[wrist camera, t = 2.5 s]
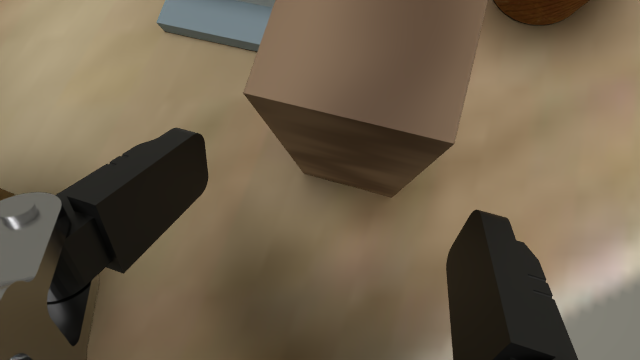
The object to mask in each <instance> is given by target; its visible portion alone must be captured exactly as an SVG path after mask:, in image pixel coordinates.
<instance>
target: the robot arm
mask: <svg viewBox="0 0 640 360" xmlns="http://www.w3.org/2000/svg"><path fill="white" fill-rule="evenodd" d="M207 182H208V169H207V160H206V150H205V142H204V138H203V136H202V135H201V134H198V133H195V132H191V131H187V130H184V129H180V128H173V129H171V130H170V131H168V132H166V133H165V134H163V135H162V136H160V137H159V138H157V139H154V140H151V141H148V142H145V143H142V144H139V145H137V146H135V147H133V148H132V149H130V150H128V151H127V152H125V153H124V154H122V157H121V156H119V157H117V158H115V159H114V160H112V161H111V162H110V164H106V165H104V166H102V167H101V168H99V169H98V170H96V171H94V172H93V173H91V174H89V175H88V176H86V177H85V178H83V179H81V180H80V181H78V182H76V183H75V184H73V185H72V186H70V187H68V188H67V189H65V190H63V191H62V192H60V193H58V194H57V195H53V194H50V193H44V192H33V193H25V194H20V195H15V196H12V197H9V198H6V199H3V200H1V201H0V360H87V348H88V342H89V337H90V332H91V326H92V321H93V315H94V310H95V305H96V299H97V294H98V288H99V281H100V280H99V276H98V274H99V273H100V272H101V271H102V270H103V269H104V268H105V267H107V268H110V269H113V270H115V271H118V272H121V273H124V272H125V271H126V270H127V269H128V268H129V267H130V266H131V265H132V264H133V263H134V262H135V261H136V260H137V259H138V258H139V257H140V256H141V255H142V254H143V253H144V252H145V251H146V250H147V249H148V248H149V247H150V246H151V245H152V244H153V243H154V242H155V241H156V240H157V239H158V238H159V237H160V236H161V235H162V234H163V233H164V232H165V231H166V230H167V229H168V228H169V227H170V226H171V225H172V224H173V223H174V222H175V221H176V220H177V219H178V218H179V217H180V216H181V215H182V214H183V213H184V212H185V211H186V210H187V209H188V208H189V207H190V205H191V204H192V203H193V202H194V201H195V200H196V199H197V198H198V197H199V196H200V195H201V194H202V193H203V192H204V190H205V188H206V185H207ZM446 271H447V284H448V297H449V310H450V323H451V335H452V348H453V360H578V358H577V356H576V353H575V350H574V348H573V345H572V343H571V341H570V338H569V335H568V333H567V330H566V328H565V325H564V323H563V320H562V318H561V315H560V313H559V310H558V308H557V305H556V303H555V300H554V299H552V296H553V295H552V293H551V290H550V288H549V285H548V283H546V282H545V281H546V278H545V275H544V272H543V270H542V267H541V265H540V262H539V260H538V259H537V258H536V257H535V255H534V254H533V253H532V252H531V251H530V249H529V248H528V247H527V246H526V245H525V243H524V242H520V241H516V239H515V236H514V233H513V230H512V227H511V224H510V222H509V220H508V219H507V218H506V217H502V216H498V215H495V214H491V213H487V212H484V211H480V210H474V211H473V212H472V213H471V215H470V216H469V218H468V219H467V221H466V223H465V225H464V226H463V228H462V230H461V231H460V233H459V235H458V236H457V238H456V240H455V242H454V243H453V245H452V247H451V249H450V251H449V254H448V258H447V264H446Z"/></svg>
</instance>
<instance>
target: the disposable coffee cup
mask: <svg viewBox="0 0 640 360" xmlns="http://www.w3.org/2000/svg"><path fill="white" fill-rule="evenodd" d="M494 1H495V3H496V4H497V6H498V7H499V8H500V9H501V10H502V11H503V12H504V13H505V14H507V15H508V16H510V17H511V18H513V19H515V20H517V21H520V22H523V23H527V24H532V25H546V24H552V23H556V22H559V21H561V20H563V19H565V18H567V17H569V16H570V15H572V14H573V13H574V12H575V11H576V10H578V9H579V8H580V7H581V6H583V5H584V4H585V3H587V2H588V1H589V0H494Z"/></svg>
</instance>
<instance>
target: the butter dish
mask: <svg viewBox="0 0 640 360" xmlns="http://www.w3.org/2000/svg"><path fill="white" fill-rule="evenodd" d="M274 3H275V0H165V3H164V5H163V8H162V10H161V13H160V15H159V17H158V20H157V24H158V25H159V26H160V27H161V28H162V29H163V30H164V31H166V32H170V33H175V34H179V35H184V36H189V37H193V38H198V39H202V40H207V41H211V42H216V43H221V44H225V45H230V46H234V47H239V48H244V49H248V50H253V51H257V52H258V49H259V46H260V43H261V40H262V37H263V34H264V31H265V29H266V26H267V23H268V20H269V17H270V14H271V11H272V8H273V6H274Z"/></svg>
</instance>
